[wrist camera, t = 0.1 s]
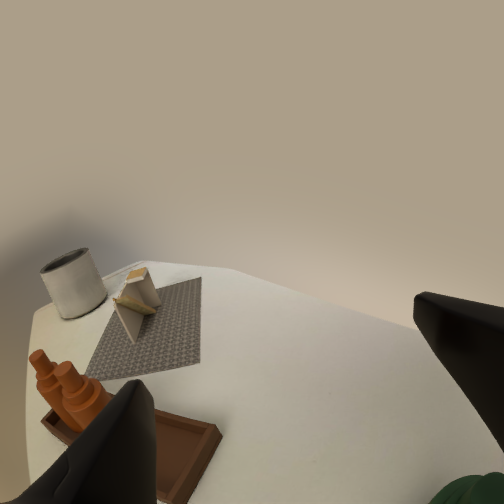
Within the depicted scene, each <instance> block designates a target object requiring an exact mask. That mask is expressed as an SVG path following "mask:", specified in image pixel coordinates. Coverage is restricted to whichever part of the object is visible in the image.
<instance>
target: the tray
mask: <svg viewBox="0 0 504 504" xmlns="http://www.w3.org/2000/svg"><path fill="white" fill-rule="evenodd" d="M107 393H108V392H107ZM108 394H109V396H110V397H111V398H113V397H114V396H115V395H113V394H111V393H108ZM154 411H155V425H156V437H157V471H156V484H157V499H158V500H160V501H162V502H165V503H167V504H186V503H187V501H188V499H189V498H190V496H191V494H192V492H193V491H194V489H195V487H196V485H197V483H198V482H199V480H200V478H201V476H202V474H203V473H204V471H205V469H206V467H207V465H208V463H209V461H210V460H211V458H212V456H213V454H214V452H215V450H216V448H217V446H218V444H219V442H220V440H221V439H222V437H223V436H222V434H221V433H220V431H219V430H218V428H217V426H216V425H215V424H209V423H206V422H202V421H197V420H193V419H189V418H185V417H182V416H178V415H174V414H171V413H167V412H164V411H160V410H157V409H154ZM41 423H42V424H43V425H44V426H45V427H46V428H47V429H48V430H49V431H50V432H51V433H52V434H53V435H55V436H56V437H57V438H58V439H60V440H61V441H62V442H64V443H65V444H66V445H68V446H70V445H71V444H72V443H73V441H74V440H75V439H76V438H77V437H78V436H79V435H80V434H81V433H77V432H74V431H72V430H71V429H70V428H69V427H68V426H67V424H66V423H65V422H64V421H63V420H62V419H61V418H60V417H59V415H58V414H57V413H56V412H55V411H54V410H53V408H52V409H51V410H50V411H49V412H48V413H47V414H46V415H45V417H44V418H43V419H42V420H41Z"/></svg>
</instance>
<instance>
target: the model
mask: <svg viewBox="0 0 504 504" xmlns="http://www.w3.org/2000/svg"><path fill="white" fill-rule="evenodd" d="M126 281H127V282H126V283H125V285H124V287H123V289H122V290H121V292H120V294H119V296H118V298H117V299H115V298H113V301H114V300H115V303H114V305H113V306H114V308H115V312H116V314H117V316H118V318H119V320H120V322H121V324H122V326H123V328H124V330H125V332H126V334H127V336H128V338H129V339H130V341H131V343H132V344H133V345H134V344H135V343H136V341H137V338H138V335H139V332H140V329H141V326H142V323H143V320H144V317H145V315H150V314H153V313H154V314H155V313H156V312H157V310H156V309H155V308H154V307H157V306H161V305H162V301H161V299H160V297H159V294H158V292H157V289H155V287H154V284H153V282H152V279H151V277H150V274H149V272H148V269H147V268H146V267H144V268H141V269H138V270H134V271H131V272H130V274H129V275H128V277H127V279H126Z"/></svg>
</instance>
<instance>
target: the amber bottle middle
mask: <svg viewBox="0 0 504 504" xmlns="http://www.w3.org/2000/svg"><path fill="white" fill-rule="evenodd" d="M54 375H55V376H56V378H57V379H58V381H59V382H60V383H61V385H62V386H63V388H62V394H63V399H62V403H63V406H64V408H65V409H66V410H67V412H68V413H69V414H70V415H71V416H72V417H73V419H74V420H75V421H76V422H77V423H78V424H79V425H80V426H81V427H82V429H83V430H84V429H85V428H86V427H87V426H88V425H89V424H90V423H91V421H92V420H93V419H94V418H95V417H96V416H97V415H98V414H99V413H100V411H101V410H102V409H103V408H104V407H105V406H106V405H107V404H108V403H109V401H110V400H111V399H112V398H111V397H110V396H109V394H108V393H107V392H106V390H105V389H104V387H103V386H102V385H101V383H100V382H99V381H98V380H97V379H95V378H88V377H87V376H85V375H80V374H79V373H78V372H77V370H76V369H75V367H74V366H73V364H72V363H71V362H70V361H65V362H62V363H61V364H59V365H58V366H57V367H56V368H55V370H54Z"/></svg>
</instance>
